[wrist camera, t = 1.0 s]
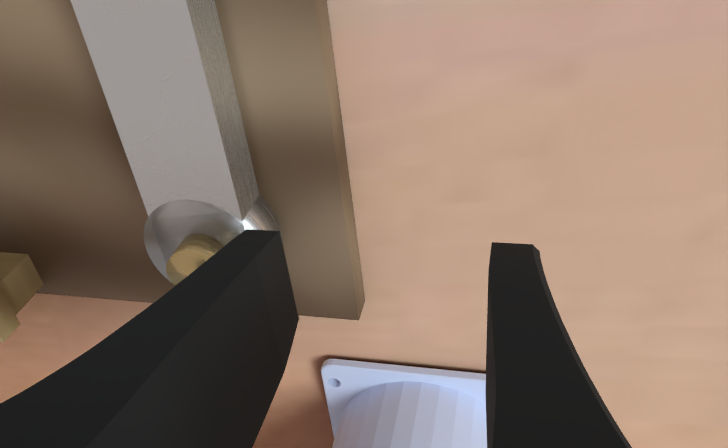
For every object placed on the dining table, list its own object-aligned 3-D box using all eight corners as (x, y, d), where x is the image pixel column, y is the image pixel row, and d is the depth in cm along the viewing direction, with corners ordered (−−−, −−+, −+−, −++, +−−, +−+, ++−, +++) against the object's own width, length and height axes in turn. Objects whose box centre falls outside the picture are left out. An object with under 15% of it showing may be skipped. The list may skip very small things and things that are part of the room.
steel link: (292, 278, 21) (268, 330, 19) (183, 270, 22) (150, 319, 20) (194, -185, 13) (139, -173, 12) (32, -168, 14) (-43, -155, 12)
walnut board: (365, 300, 23) (338, 388, 20) (-88, 265, 27) (-168, 332, 24) (301, -199, 14) (234, -183, 11) (-350, -129, 19) (-529, -104, 15)
